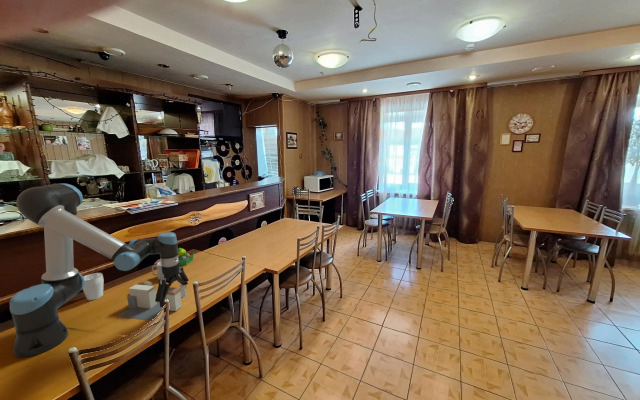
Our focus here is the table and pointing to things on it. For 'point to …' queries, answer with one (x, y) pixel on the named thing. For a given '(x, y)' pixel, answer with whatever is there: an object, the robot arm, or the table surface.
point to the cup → (93, 286)
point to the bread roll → (145, 283)
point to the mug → (158, 271)
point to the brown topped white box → (174, 298)
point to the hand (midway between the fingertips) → (174, 303)
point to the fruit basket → (184, 256)
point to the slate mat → (142, 312)
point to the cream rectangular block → (142, 296)
